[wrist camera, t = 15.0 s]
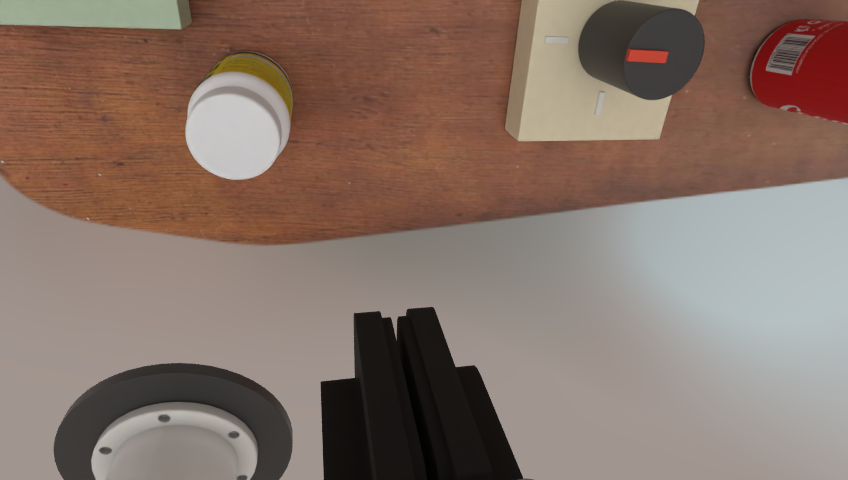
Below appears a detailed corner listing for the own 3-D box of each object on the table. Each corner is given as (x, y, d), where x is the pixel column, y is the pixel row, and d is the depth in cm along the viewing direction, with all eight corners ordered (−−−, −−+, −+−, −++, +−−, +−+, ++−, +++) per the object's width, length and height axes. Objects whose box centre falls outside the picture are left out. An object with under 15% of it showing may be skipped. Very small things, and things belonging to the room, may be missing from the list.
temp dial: (657, 2, 29) (721, 11, 24) (635, 81, 31) (692, 103, 27) (587, -3, 28) (641, 6, 24) (570, 78, 30) (616, 100, 26)
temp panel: (638, 128, 36) (660, 140, 33) (504, 129, 34) (518, 142, 31) (690, -71, 30) (722, -73, 28) (532, -84, 28) (552, -87, 26)
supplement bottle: (213, 39, 28) (180, 68, 20) (300, 62, 29) (298, 98, 22) (203, 122, 30) (170, 176, 22) (285, 141, 31) (279, 197, 24)
